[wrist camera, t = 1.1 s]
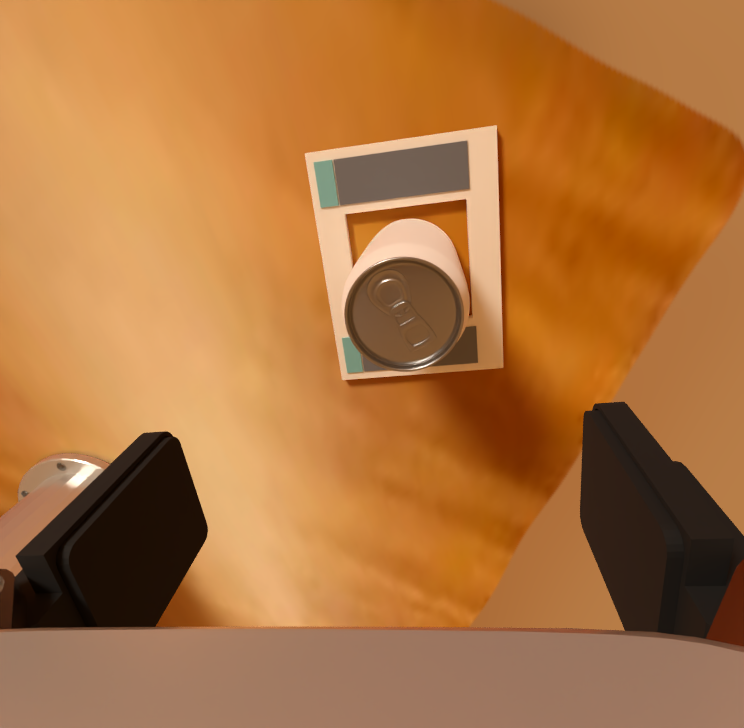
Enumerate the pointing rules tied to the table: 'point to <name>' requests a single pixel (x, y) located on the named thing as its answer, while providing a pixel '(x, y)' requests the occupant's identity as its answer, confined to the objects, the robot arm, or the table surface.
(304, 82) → the table surface
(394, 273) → the can
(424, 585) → the table surface
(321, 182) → the label board
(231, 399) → the table surface
